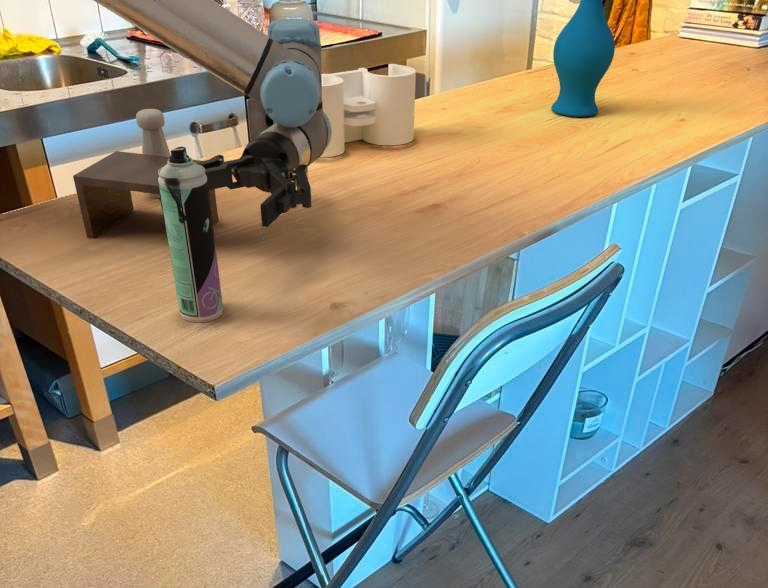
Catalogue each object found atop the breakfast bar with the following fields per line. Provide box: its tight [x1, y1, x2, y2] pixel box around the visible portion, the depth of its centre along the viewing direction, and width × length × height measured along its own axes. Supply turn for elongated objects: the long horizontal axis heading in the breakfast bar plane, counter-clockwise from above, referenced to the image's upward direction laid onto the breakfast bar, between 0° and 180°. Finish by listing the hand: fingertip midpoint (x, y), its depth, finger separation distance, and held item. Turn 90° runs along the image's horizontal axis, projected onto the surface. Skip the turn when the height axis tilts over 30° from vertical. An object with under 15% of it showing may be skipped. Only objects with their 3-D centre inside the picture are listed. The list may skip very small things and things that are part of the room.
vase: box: [550, 0, 616, 118], centre depth 169 cm, size 12×13×28 cm
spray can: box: [158, 146, 224, 323], centre depth 97 cm, size 6×6×20 cm
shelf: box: [72, 150, 219, 239], centre depth 121 cm, size 16×12×9 cm
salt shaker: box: [135, 108, 171, 200], centre depth 132 cm, size 6×6×13 cm
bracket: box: [319, 63, 417, 158], centre depth 154 cm, size 25×10×12 cm, turn 124°
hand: (213, 209), depth 101 cm, fingers open, 13 cm apart
